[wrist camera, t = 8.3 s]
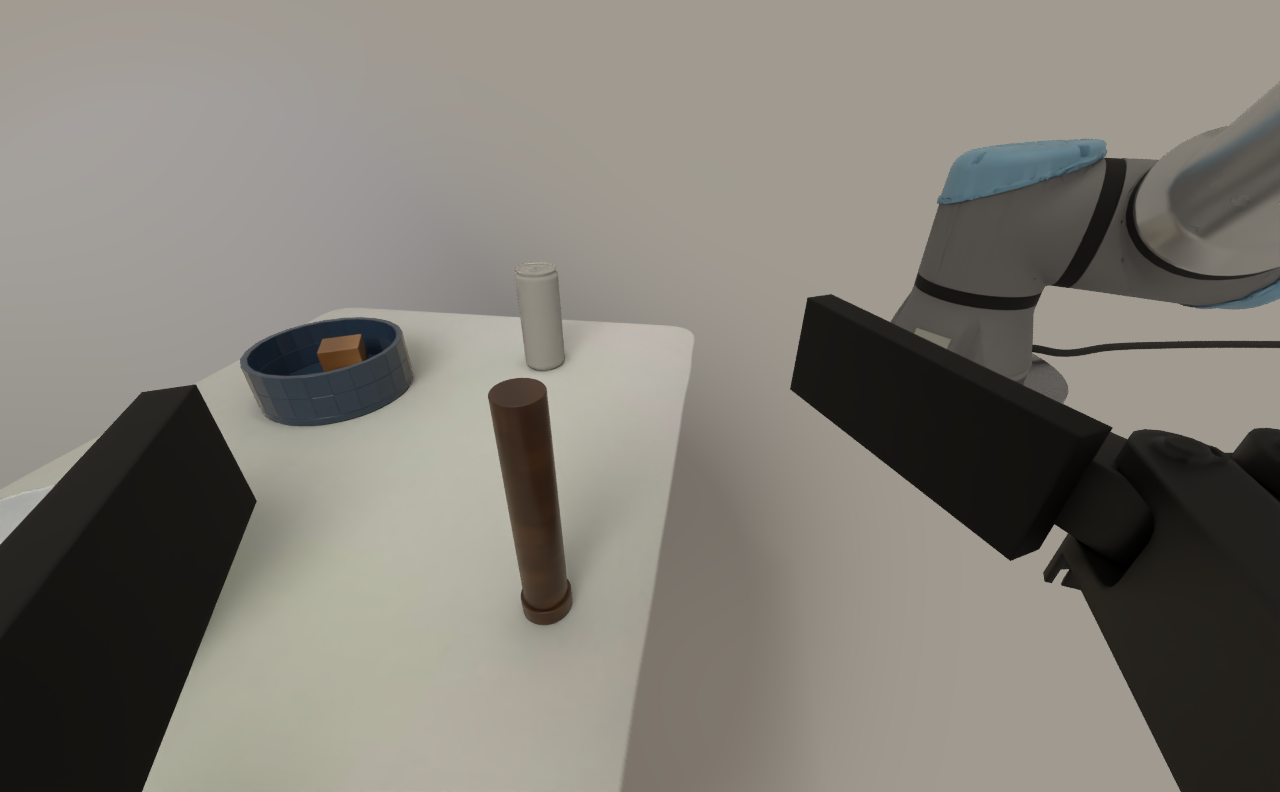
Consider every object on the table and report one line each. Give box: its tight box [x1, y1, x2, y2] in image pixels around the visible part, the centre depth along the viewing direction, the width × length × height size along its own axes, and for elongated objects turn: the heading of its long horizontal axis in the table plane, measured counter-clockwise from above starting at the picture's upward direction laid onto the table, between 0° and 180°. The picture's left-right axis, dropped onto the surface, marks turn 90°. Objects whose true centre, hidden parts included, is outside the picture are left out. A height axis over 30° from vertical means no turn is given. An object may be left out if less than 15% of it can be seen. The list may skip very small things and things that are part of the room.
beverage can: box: [515, 262, 565, 370], centre depth 59 cm, size 5×5×12 cm
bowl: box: [240, 317, 413, 426], centre depth 55 cm, size 15×15×6 cm
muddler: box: [488, 378, 572, 625], centre depth 28 cm, size 3×3×16 cm
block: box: [317, 334, 369, 372], centre depth 56 cm, size 4×4×4 cm
